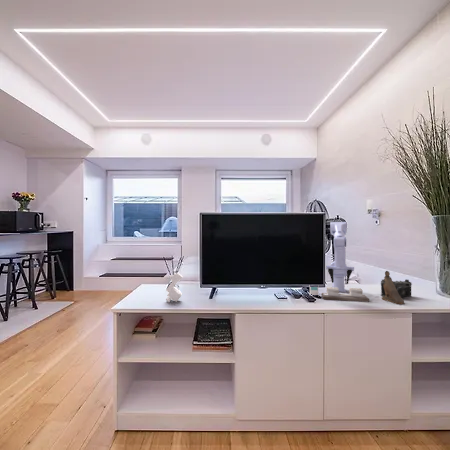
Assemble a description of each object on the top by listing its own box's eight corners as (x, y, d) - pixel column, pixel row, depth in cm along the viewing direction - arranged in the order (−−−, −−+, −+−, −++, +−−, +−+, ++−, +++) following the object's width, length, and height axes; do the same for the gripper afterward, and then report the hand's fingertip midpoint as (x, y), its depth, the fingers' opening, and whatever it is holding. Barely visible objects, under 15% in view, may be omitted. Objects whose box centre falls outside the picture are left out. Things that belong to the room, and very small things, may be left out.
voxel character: (159, 290, 171) (174, 269, 170) (175, 302, 171) (191, 281, 170) (156, 293, 163) (172, 271, 163) (173, 306, 163) (189, 284, 163)
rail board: (321, 295, 178) (321, 285, 178) (364, 297, 173) (364, 287, 173) (323, 299, 168) (323, 289, 168) (369, 301, 163) (369, 291, 163)
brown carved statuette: (381, 303, 168) (376, 271, 172) (389, 302, 169) (384, 271, 173) (397, 304, 157) (391, 270, 160) (406, 304, 158) (400, 269, 162)
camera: (386, 299, 168) (386, 281, 168) (378, 295, 177) (378, 278, 177) (418, 299, 167) (418, 281, 167) (409, 295, 176) (409, 278, 176)
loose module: (309, 294, 180) (309, 283, 180) (317, 295, 179) (317, 283, 179) (310, 296, 175) (310, 284, 175) (318, 297, 174) (318, 285, 174)
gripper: (325, 258, 165) (325, 283, 165) (353, 260, 159) (353, 285, 159) (327, 257, 171) (327, 280, 172) (354, 258, 165) (354, 283, 165)
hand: (340, 283), depth 166 cm, fingers open, 7 cm apart
